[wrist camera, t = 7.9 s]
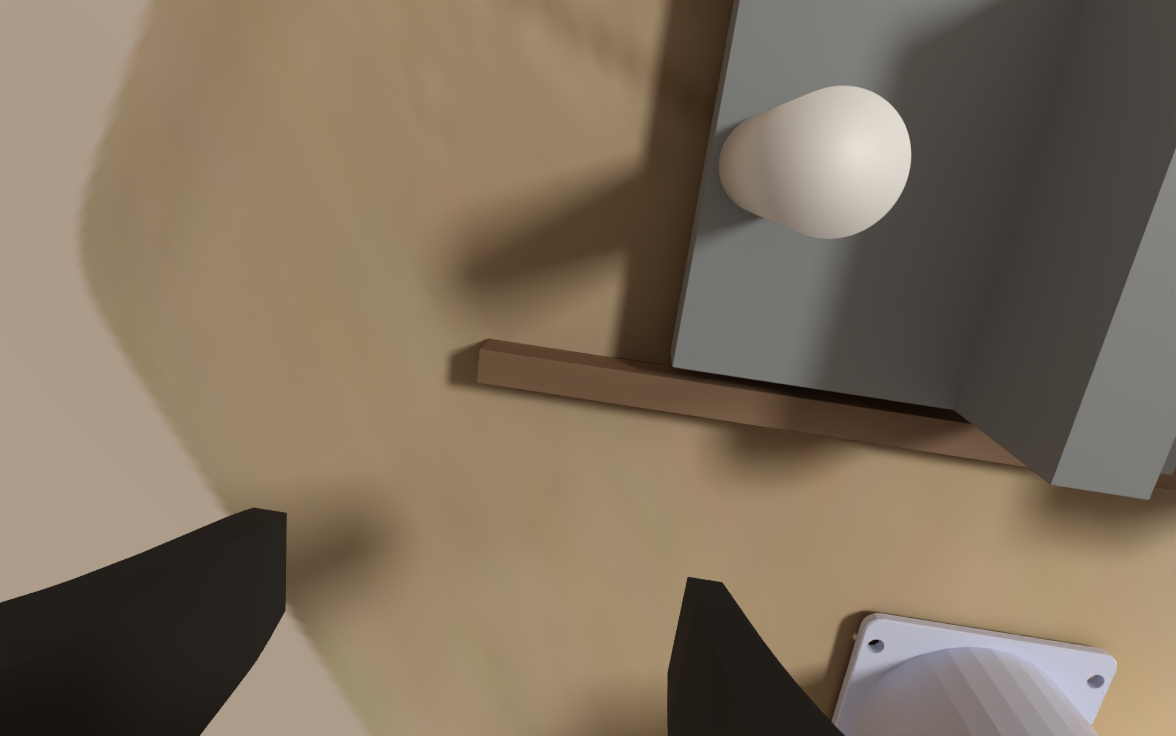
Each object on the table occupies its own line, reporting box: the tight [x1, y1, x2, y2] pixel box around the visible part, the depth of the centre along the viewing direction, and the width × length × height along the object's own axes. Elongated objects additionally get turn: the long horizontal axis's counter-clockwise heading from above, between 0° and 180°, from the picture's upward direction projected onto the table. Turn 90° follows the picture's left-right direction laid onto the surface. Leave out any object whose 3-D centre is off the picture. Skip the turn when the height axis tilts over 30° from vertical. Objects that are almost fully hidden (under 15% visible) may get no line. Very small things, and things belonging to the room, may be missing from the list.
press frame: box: [477, 339, 1176, 490], centre depth 15 cm, size 14×26×7 cm, turn 82°
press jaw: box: [670, 0, 1176, 500], centre depth 15 cm, size 11×10×8 cm
